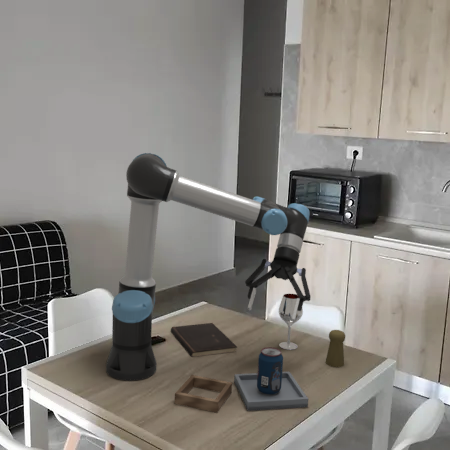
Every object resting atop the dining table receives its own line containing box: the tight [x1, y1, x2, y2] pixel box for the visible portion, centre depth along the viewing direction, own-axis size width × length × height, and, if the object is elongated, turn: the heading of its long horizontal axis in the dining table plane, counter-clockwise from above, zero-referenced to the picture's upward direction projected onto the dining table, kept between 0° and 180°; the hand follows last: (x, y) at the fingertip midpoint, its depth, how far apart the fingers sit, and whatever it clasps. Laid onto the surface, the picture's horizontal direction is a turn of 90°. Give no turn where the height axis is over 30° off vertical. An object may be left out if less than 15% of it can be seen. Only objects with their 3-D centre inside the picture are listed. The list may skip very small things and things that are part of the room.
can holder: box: [174, 374, 233, 414], centre depth 164 cm, size 12×12×3 cm
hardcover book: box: [170, 322, 238, 358], centre depth 204 cm, size 16×23×2 cm
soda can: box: [257, 346, 284, 395], centre depth 167 cm, size 7×7×12 cm
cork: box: [324, 329, 346, 368], centre depth 190 cm, size 6×6×11 cm
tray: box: [233, 371, 309, 412], centre depth 168 cm, size 17×17×2 cm
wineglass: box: [278, 293, 304, 351], centre depth 201 cm, size 8×8×18 cm
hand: (271, 314), depth 176 cm, fingers open, 13 cm apart
